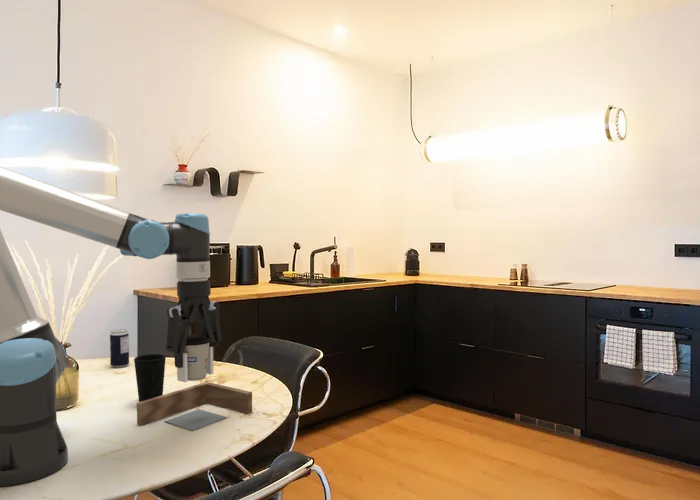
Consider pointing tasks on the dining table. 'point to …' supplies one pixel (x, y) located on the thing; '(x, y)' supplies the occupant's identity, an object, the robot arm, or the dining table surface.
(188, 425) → the pad
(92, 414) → the dining table surface
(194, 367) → the coffee cup
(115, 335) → the beverage can
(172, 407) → the corner wall
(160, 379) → the cup
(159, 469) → the dining table surface
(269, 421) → the dining table surface
